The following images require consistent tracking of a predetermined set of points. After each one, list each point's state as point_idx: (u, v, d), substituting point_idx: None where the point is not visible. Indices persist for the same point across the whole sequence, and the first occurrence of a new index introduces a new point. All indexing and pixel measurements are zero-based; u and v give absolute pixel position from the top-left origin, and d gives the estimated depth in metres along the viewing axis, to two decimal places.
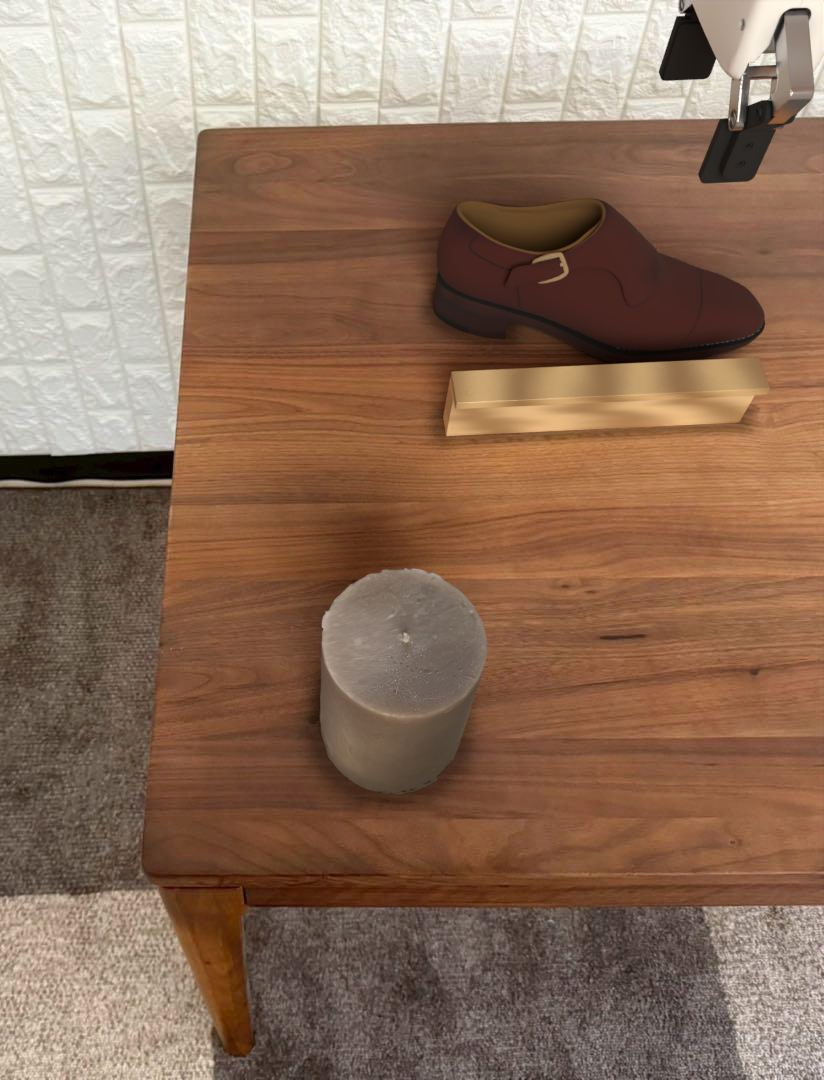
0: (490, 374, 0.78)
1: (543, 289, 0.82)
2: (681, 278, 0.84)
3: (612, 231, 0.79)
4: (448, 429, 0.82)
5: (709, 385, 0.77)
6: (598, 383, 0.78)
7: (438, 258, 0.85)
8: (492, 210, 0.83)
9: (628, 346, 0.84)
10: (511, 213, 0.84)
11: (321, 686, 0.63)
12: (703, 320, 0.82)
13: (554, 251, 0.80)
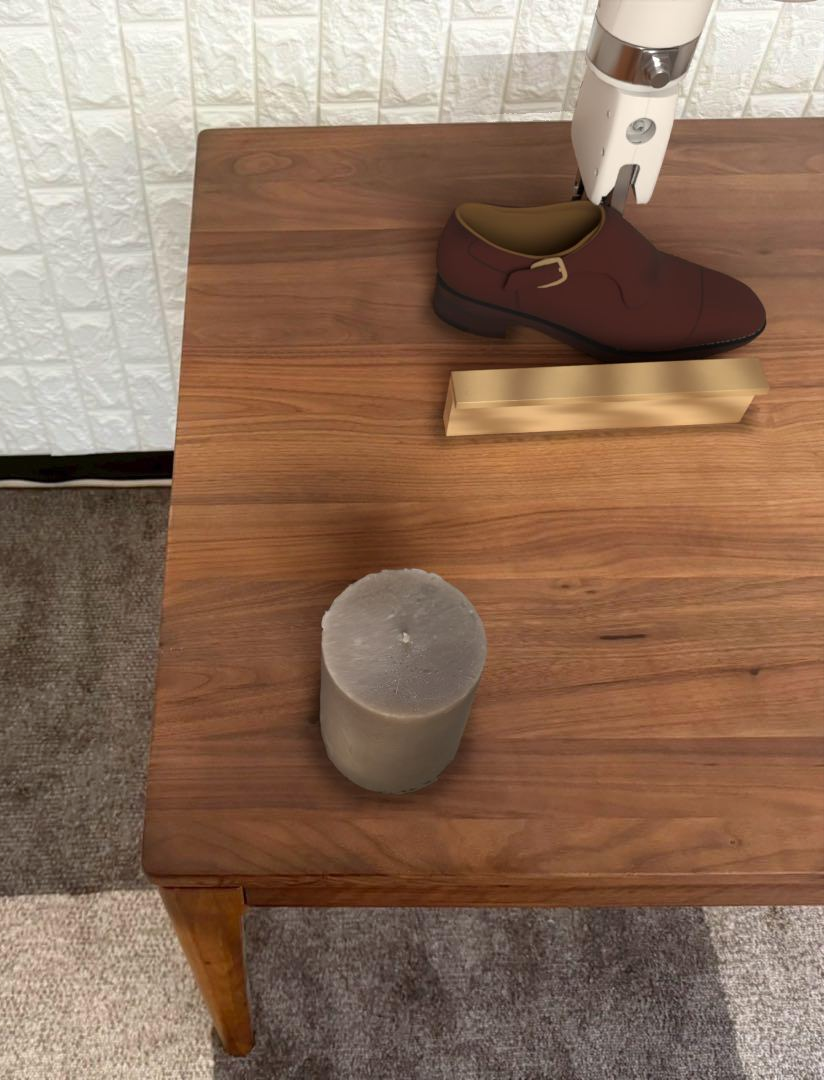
0: (490, 374, 0.78)
1: (542, 293, 0.82)
2: (682, 278, 0.83)
3: (611, 235, 0.79)
4: (448, 429, 0.82)
5: (709, 385, 0.77)
6: (598, 383, 0.78)
7: (437, 260, 0.84)
8: (491, 211, 0.83)
9: (628, 348, 0.84)
10: (510, 214, 0.83)
11: (321, 686, 0.63)
12: (703, 322, 0.82)
13: (553, 255, 0.80)
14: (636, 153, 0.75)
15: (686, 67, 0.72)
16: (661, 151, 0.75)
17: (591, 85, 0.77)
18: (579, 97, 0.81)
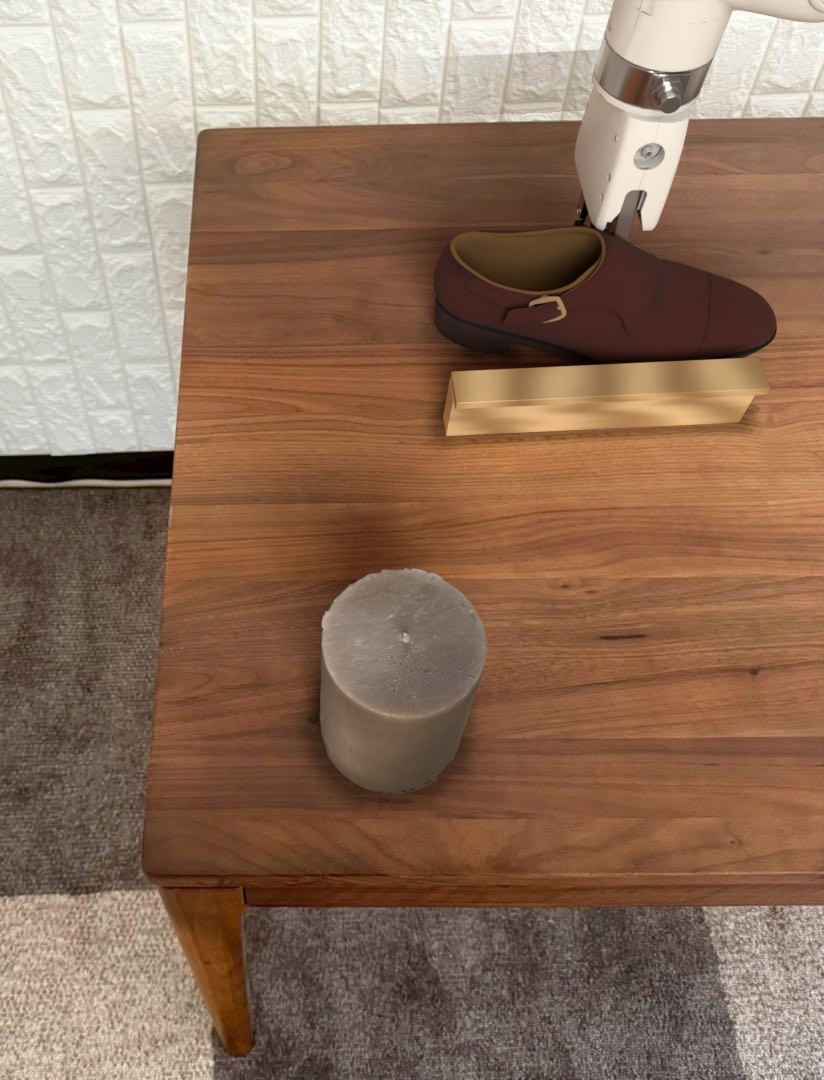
0: (490, 374, 0.78)
1: (542, 325, 0.80)
2: (688, 294, 0.81)
3: (612, 270, 0.76)
4: (448, 429, 0.82)
5: (709, 385, 0.77)
6: (598, 383, 0.78)
7: (435, 288, 0.83)
8: (489, 238, 0.80)
9: None
10: (509, 238, 0.80)
11: (321, 686, 0.63)
12: (709, 342, 0.80)
13: (552, 291, 0.78)
14: (643, 179, 0.73)
15: (697, 92, 0.70)
16: (669, 177, 0.73)
17: (598, 107, 0.74)
18: (584, 119, 0.78)
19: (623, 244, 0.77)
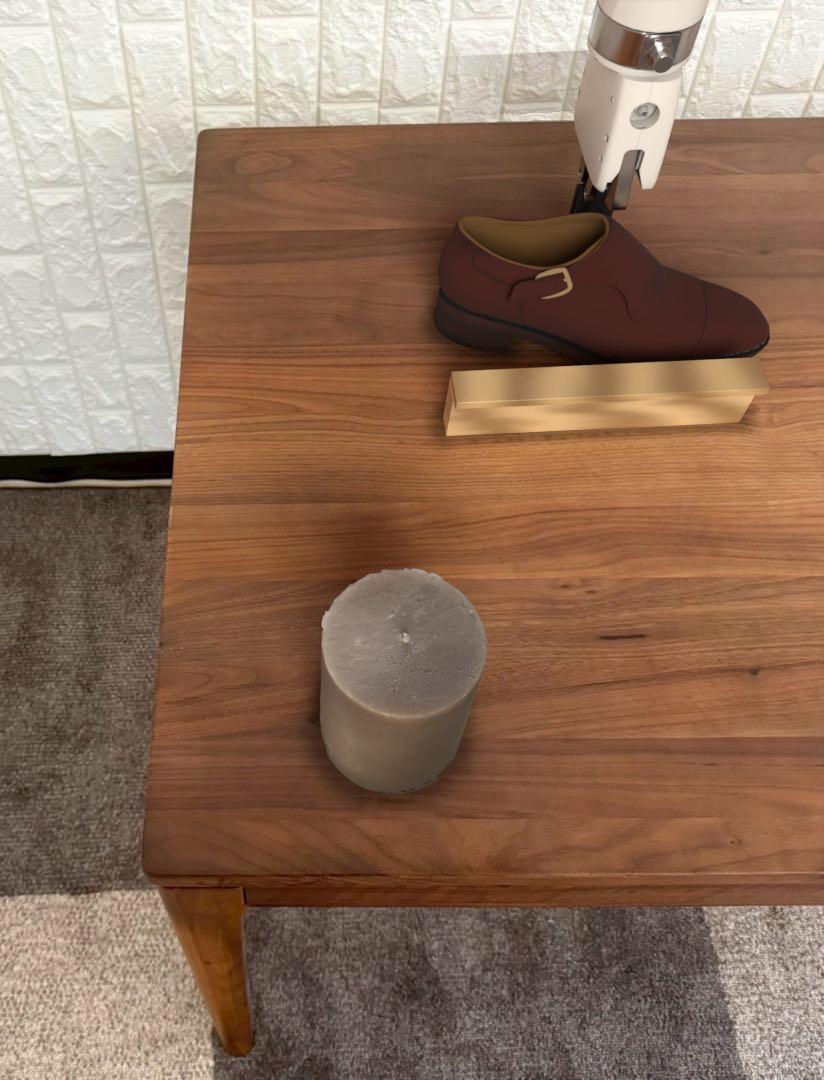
0: (490, 374, 0.78)
1: (547, 304, 0.81)
2: (685, 291, 0.83)
3: (616, 245, 0.78)
4: (448, 429, 0.82)
5: (709, 385, 0.77)
6: (598, 383, 0.78)
7: (440, 273, 0.84)
8: (494, 224, 0.82)
9: (633, 360, 0.83)
10: (513, 228, 0.83)
11: (321, 686, 0.63)
12: (708, 333, 0.82)
13: (557, 266, 0.79)
14: (640, 138, 0.76)
15: (689, 51, 0.72)
16: (665, 136, 0.76)
17: (594, 72, 0.77)
18: (582, 84, 0.81)
19: (624, 228, 0.80)
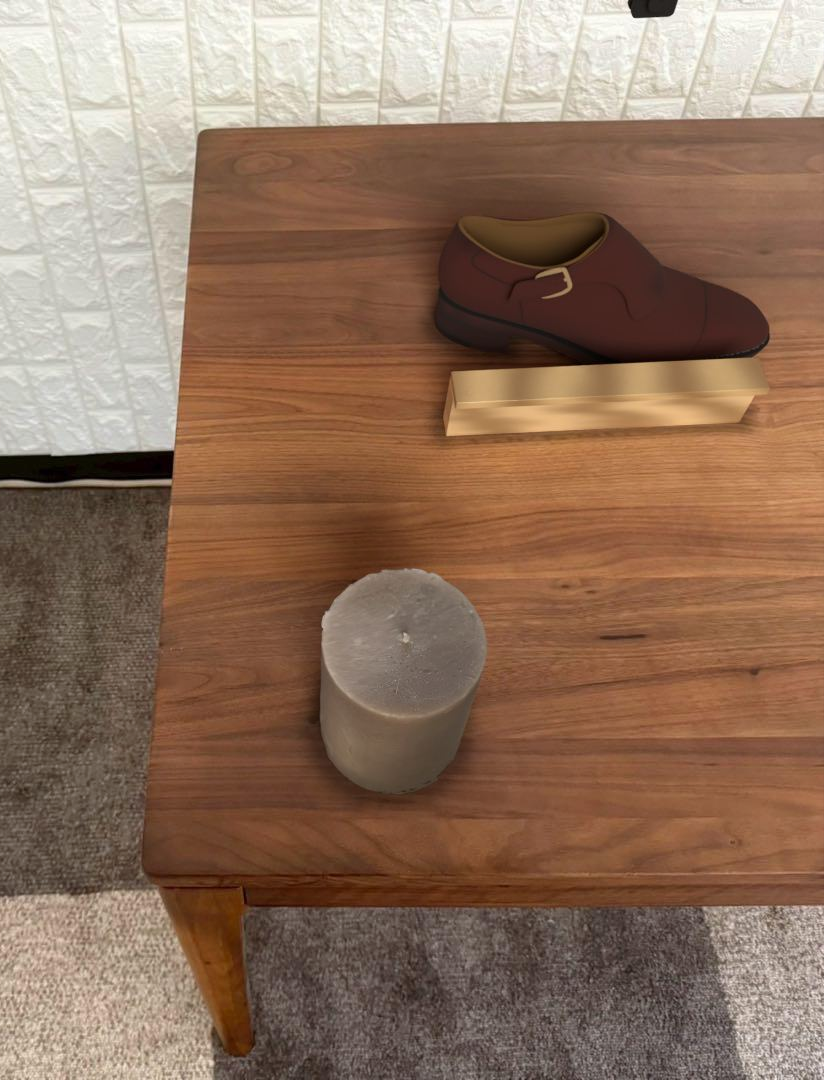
0: (490, 374, 0.78)
1: (546, 304, 0.81)
2: (685, 291, 0.83)
3: (616, 245, 0.78)
4: (448, 429, 0.82)
5: (709, 385, 0.77)
6: (598, 383, 0.78)
7: (440, 273, 0.84)
8: (494, 224, 0.83)
9: (633, 360, 0.83)
10: (513, 227, 0.83)
11: (321, 686, 0.63)
12: (708, 333, 0.82)
13: (557, 266, 0.79)
14: None
15: None
16: None
17: None
18: None
19: (624, 228, 0.80)
